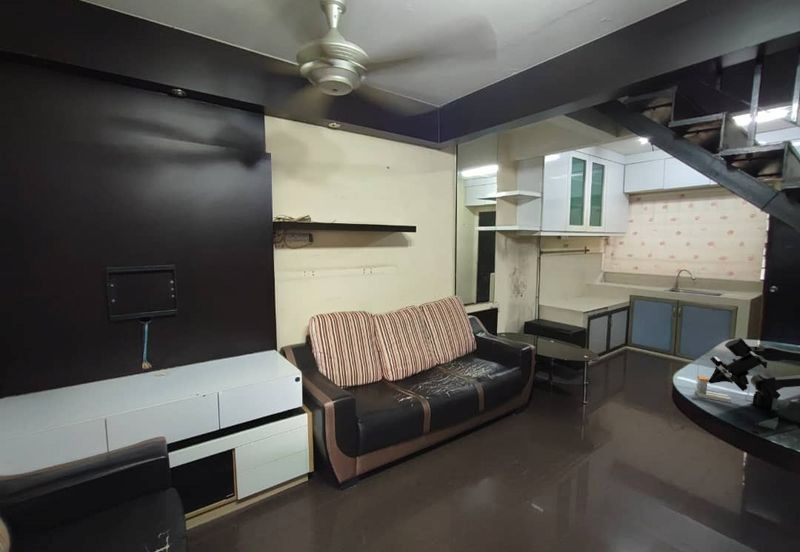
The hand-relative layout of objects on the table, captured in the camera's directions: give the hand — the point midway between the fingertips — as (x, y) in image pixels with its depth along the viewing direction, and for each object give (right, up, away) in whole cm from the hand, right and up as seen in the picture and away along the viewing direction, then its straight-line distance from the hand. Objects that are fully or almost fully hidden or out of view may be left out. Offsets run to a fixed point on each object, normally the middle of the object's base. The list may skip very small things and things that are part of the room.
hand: (709, 382), depth 164 cm
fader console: (+2, -7, -1) cm, 7 cm away
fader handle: (-2, -5, +2) cm, 5 cm away
